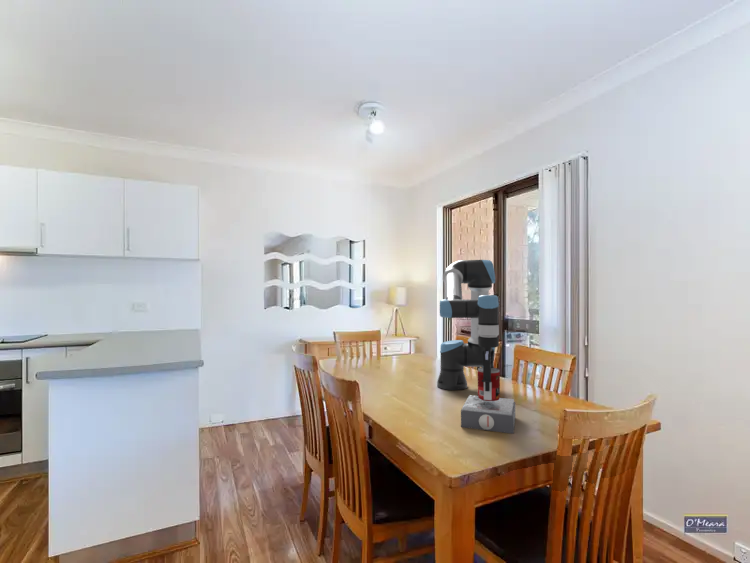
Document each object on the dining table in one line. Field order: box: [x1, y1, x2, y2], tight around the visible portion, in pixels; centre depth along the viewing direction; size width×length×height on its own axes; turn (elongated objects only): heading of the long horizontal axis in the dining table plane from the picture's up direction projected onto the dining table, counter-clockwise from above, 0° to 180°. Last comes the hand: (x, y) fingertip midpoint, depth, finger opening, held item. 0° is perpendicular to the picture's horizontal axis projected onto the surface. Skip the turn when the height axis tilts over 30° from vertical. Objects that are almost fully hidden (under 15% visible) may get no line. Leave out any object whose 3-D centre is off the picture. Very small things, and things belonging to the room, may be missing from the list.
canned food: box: [477, 367, 501, 401], centre depth 148 cm, size 8×8×11 cm
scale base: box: [460, 401, 516, 435], centre depth 147 cm, size 19×18×6 cm
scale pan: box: [461, 394, 515, 416], centre depth 148 cm, size 17×17×1 cm
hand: (488, 396), depth 148 cm, fingers closed on canned food, 8 cm apart
